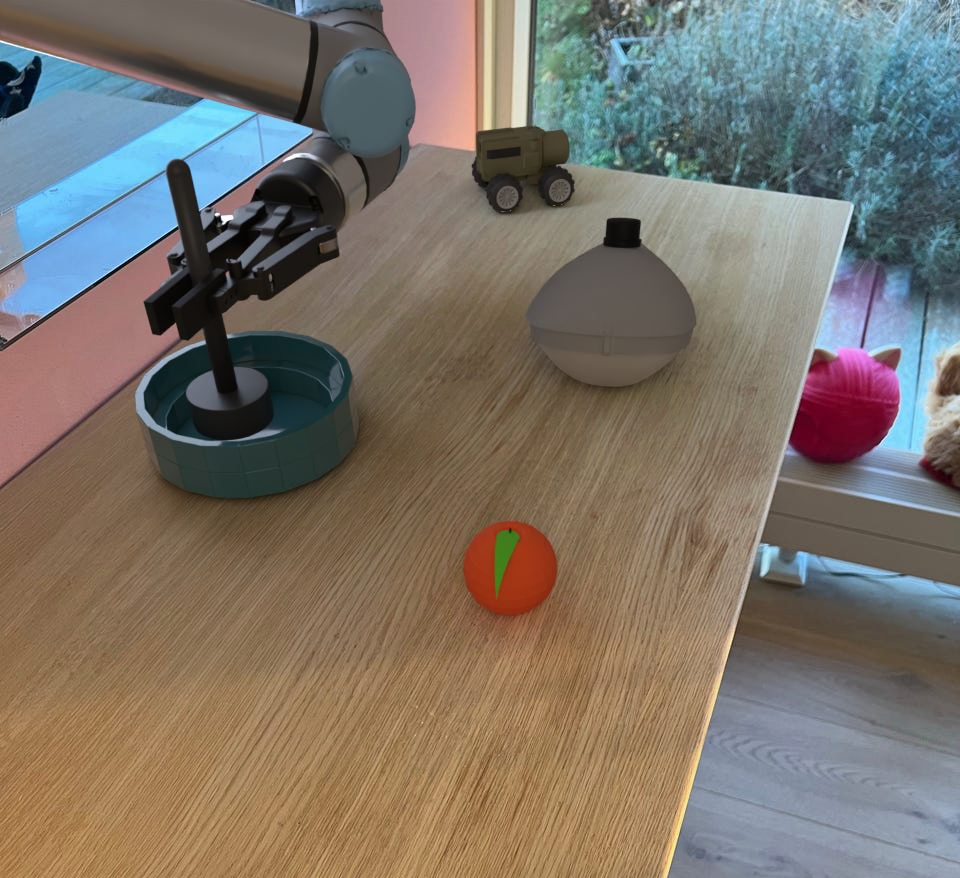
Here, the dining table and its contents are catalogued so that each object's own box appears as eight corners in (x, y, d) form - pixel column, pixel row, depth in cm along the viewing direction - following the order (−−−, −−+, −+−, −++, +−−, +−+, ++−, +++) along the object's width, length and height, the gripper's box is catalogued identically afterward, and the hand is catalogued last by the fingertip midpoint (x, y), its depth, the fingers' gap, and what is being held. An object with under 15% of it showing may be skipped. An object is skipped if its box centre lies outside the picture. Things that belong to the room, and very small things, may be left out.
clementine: (545, 651, 74) (546, 577, 69) (451, 638, 76) (446, 564, 71) (563, 578, 80) (566, 505, 75) (475, 567, 81) (473, 494, 76)
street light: (689, 415, 90) (709, 244, 83) (511, 403, 92) (517, 236, 85) (686, 342, 116) (701, 208, 109) (547, 334, 118) (554, 202, 111)
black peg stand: (178, 432, 89) (106, 172, 74) (220, 390, 94) (160, 137, 78) (249, 447, 87) (191, 183, 72) (288, 403, 92) (241, 147, 77)
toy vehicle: (470, 185, 134) (466, 84, 125) (552, 175, 136) (554, 75, 127) (490, 218, 127) (488, 113, 118) (577, 206, 128) (581, 103, 120)
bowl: (110, 480, 91) (90, 422, 86) (221, 374, 103) (208, 318, 98) (299, 524, 86) (288, 464, 81) (392, 406, 98) (386, 349, 93)
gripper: (387, 250, 95) (260, 381, 79) (245, 229, 99) (98, 350, 83) (379, 165, 89) (242, 288, 74) (229, 147, 93) (69, 260, 78)
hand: (166, 321), depth 79 cm, fingers closed on black peg stand, 2 cm apart
